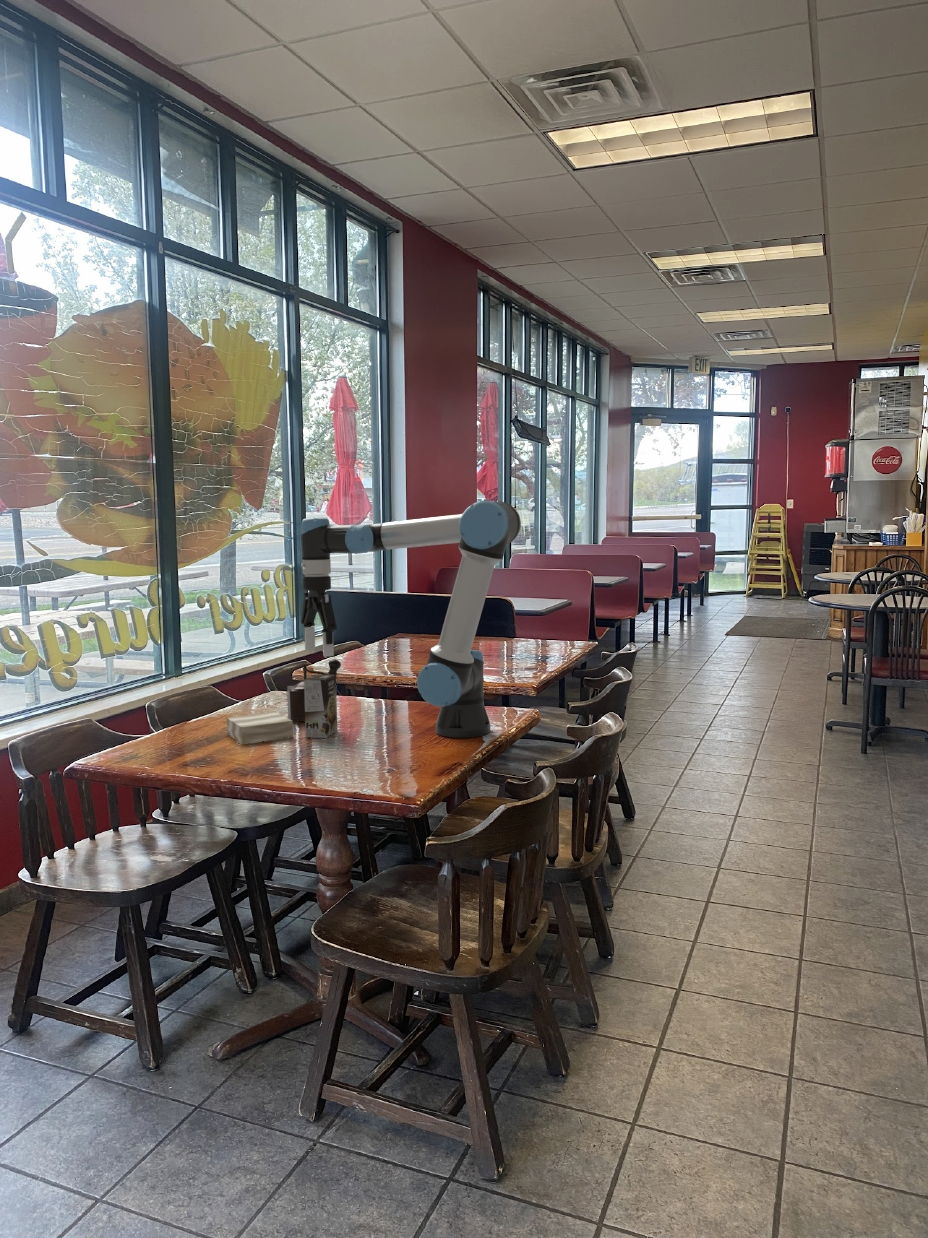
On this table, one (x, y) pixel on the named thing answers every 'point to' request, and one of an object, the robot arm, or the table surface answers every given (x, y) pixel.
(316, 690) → the coffee box
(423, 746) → the table surface
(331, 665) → the coffee grinder
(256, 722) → the birch block
